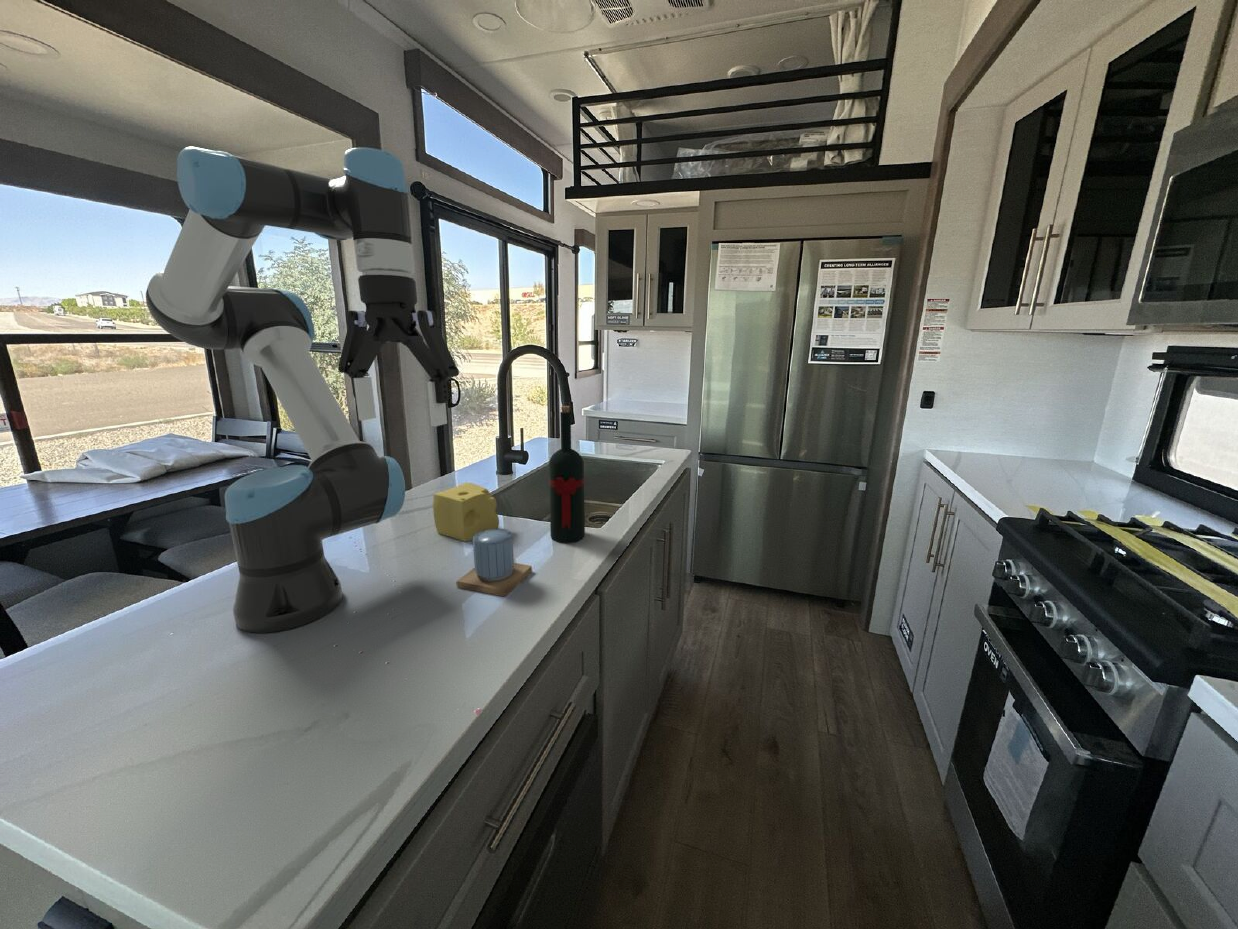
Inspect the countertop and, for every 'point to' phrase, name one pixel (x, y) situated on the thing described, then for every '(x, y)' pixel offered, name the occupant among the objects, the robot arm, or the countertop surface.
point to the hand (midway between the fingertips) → (402, 422)
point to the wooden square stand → (495, 581)
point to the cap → (493, 553)
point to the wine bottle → (566, 488)
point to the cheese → (464, 511)
